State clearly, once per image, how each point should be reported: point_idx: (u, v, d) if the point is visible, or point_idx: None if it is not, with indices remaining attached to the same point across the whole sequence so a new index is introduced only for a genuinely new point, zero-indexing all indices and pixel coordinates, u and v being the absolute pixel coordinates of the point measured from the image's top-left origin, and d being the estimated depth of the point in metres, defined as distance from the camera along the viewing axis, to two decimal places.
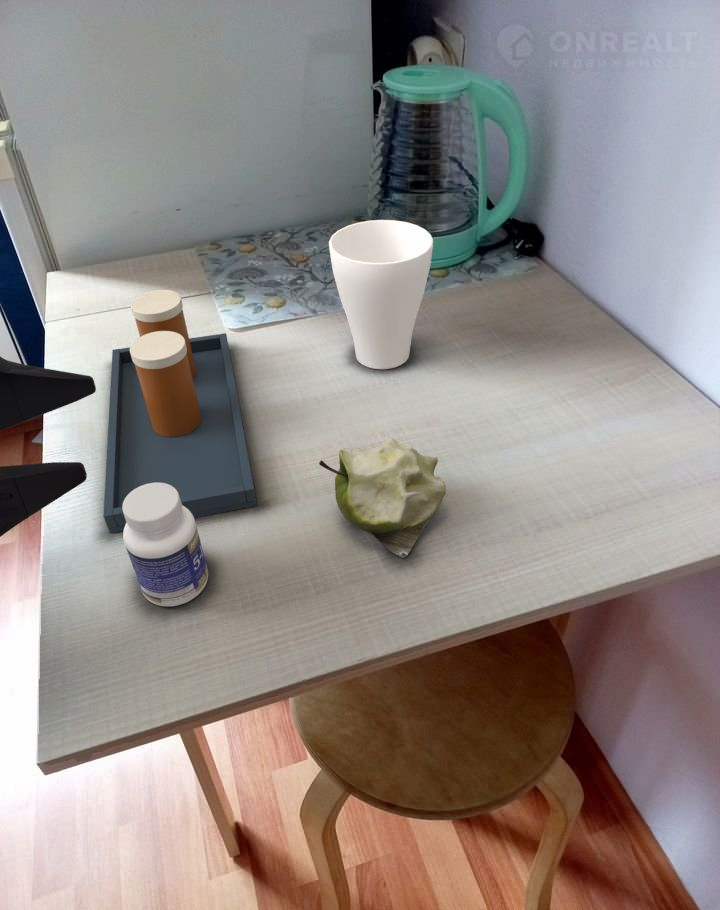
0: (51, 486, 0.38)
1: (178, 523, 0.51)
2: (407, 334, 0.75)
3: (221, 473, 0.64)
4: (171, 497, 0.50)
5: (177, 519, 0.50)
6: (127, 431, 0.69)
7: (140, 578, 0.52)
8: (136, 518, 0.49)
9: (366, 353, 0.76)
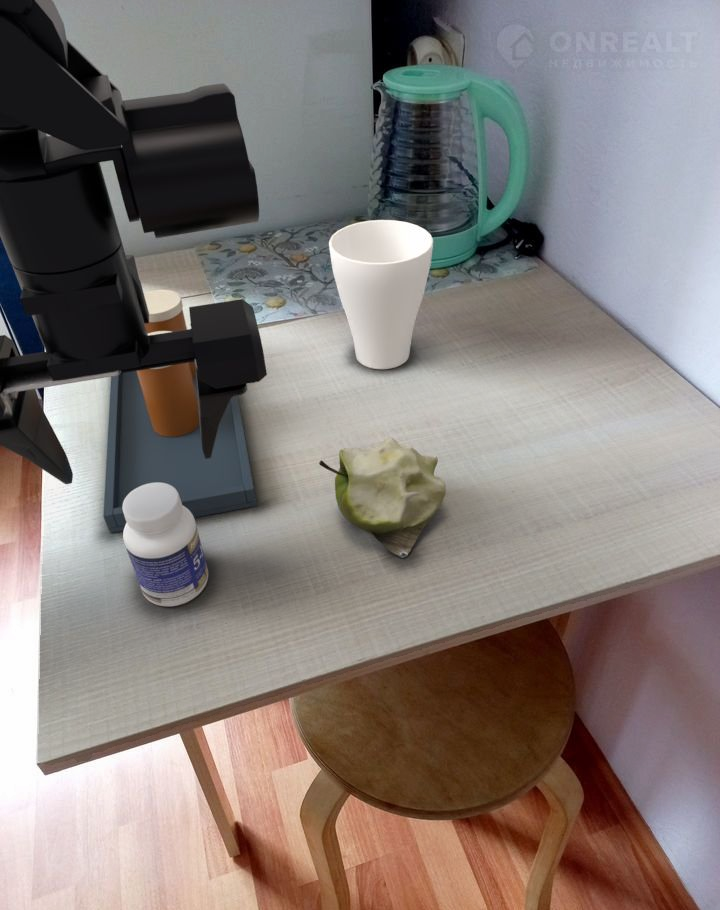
0: None
1: (178, 523, 0.51)
2: (407, 334, 0.75)
3: (221, 473, 0.64)
4: (171, 497, 0.50)
5: (177, 519, 0.50)
6: (127, 431, 0.69)
7: (140, 578, 0.52)
8: (136, 518, 0.49)
9: (366, 353, 0.76)
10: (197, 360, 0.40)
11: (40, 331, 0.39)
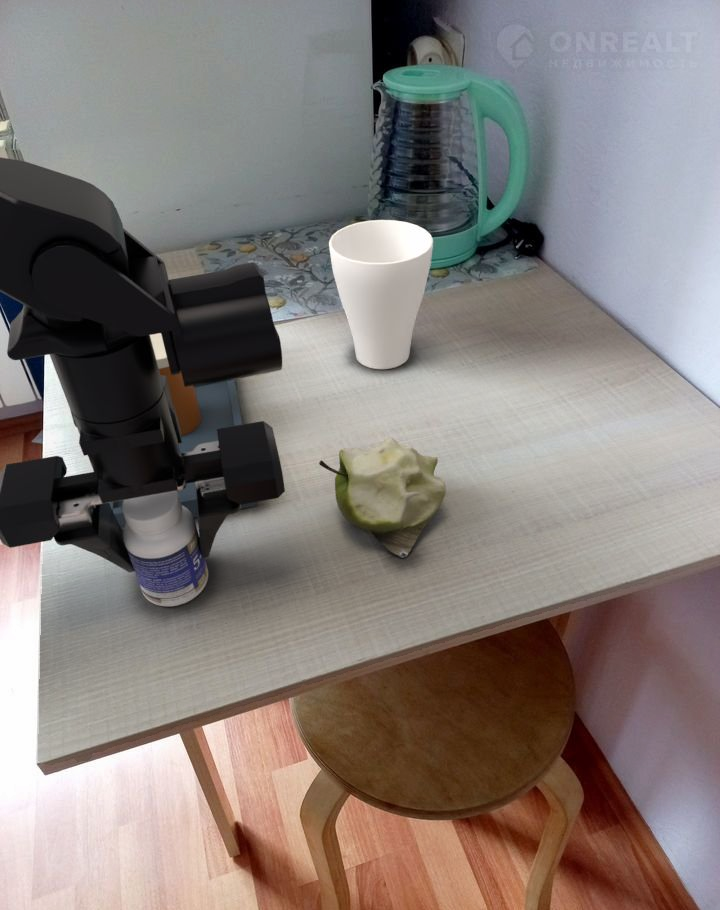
0: None
1: (178, 523, 0.51)
2: (407, 334, 0.75)
3: None
4: (171, 497, 0.50)
5: (177, 519, 0.50)
6: None
7: (140, 578, 0.52)
8: (135, 518, 0.49)
9: (366, 353, 0.76)
10: (226, 483, 0.47)
11: (92, 462, 0.45)
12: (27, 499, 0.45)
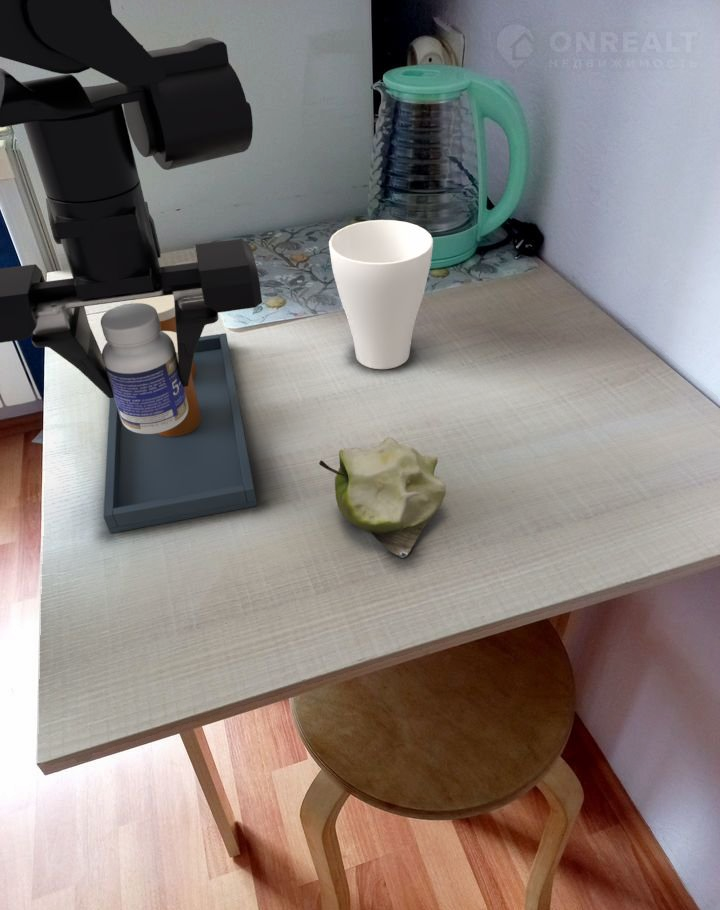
0: None
1: (156, 341, 0.51)
2: (407, 334, 0.75)
3: (221, 473, 0.64)
4: (149, 313, 0.50)
5: (156, 335, 0.51)
6: (127, 431, 0.69)
7: (119, 400, 0.53)
8: (113, 328, 0.49)
9: (366, 353, 0.76)
10: (202, 285, 0.47)
11: (69, 256, 0.45)
12: (4, 294, 0.45)
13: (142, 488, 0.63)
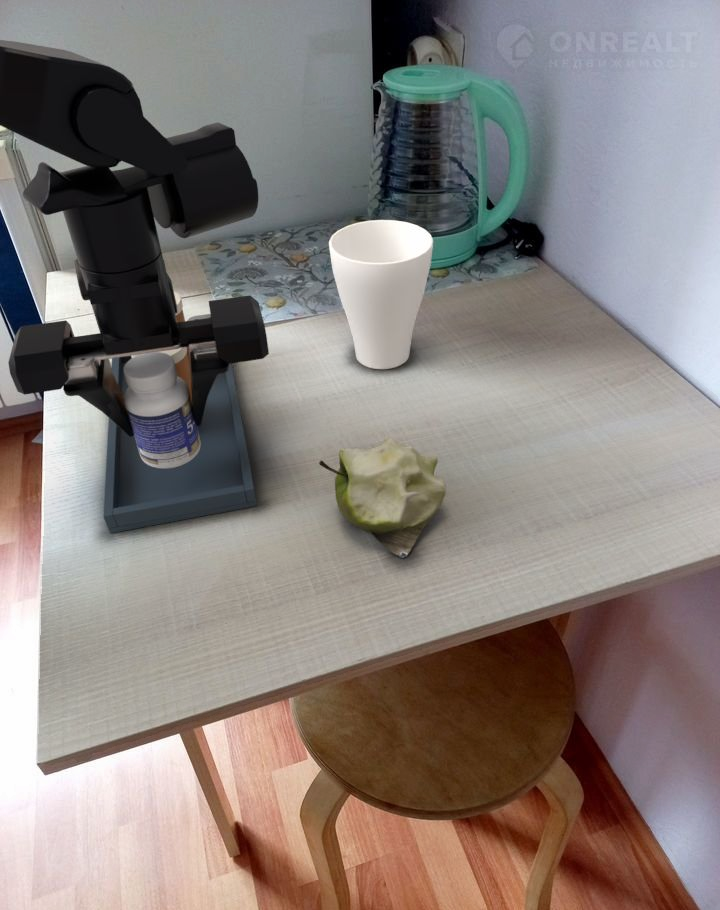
0: None
1: (173, 387, 0.57)
2: (407, 334, 0.75)
3: (221, 473, 0.64)
4: (167, 362, 0.56)
5: (173, 381, 0.56)
6: None
7: (139, 439, 0.58)
8: (135, 377, 0.55)
9: (366, 353, 0.76)
10: (216, 341, 0.53)
11: (98, 317, 0.51)
12: (40, 350, 0.51)
13: (142, 488, 0.63)
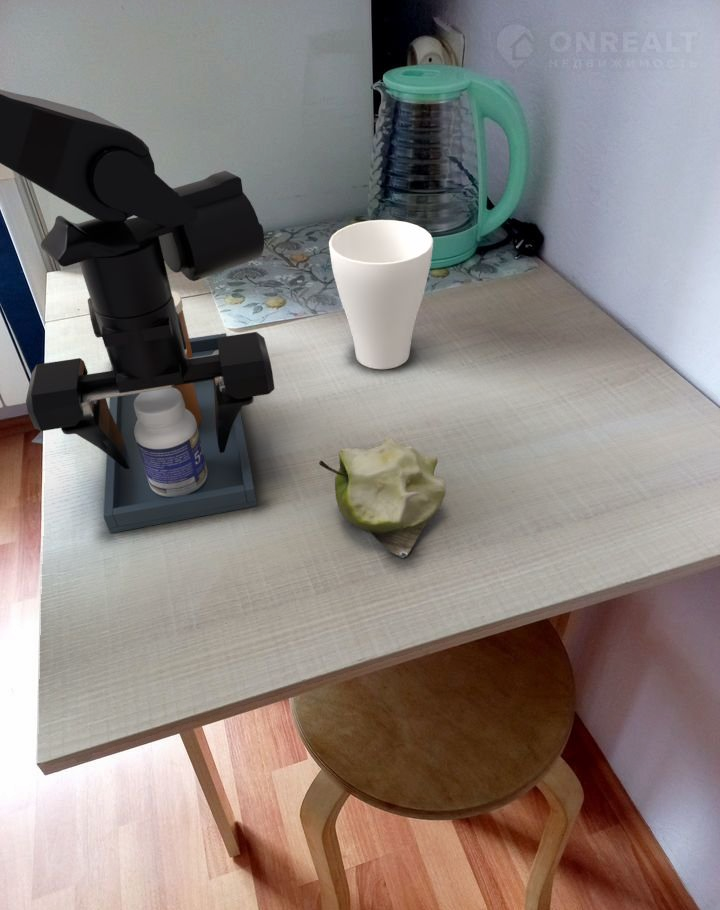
0: None
1: (181, 420, 0.59)
2: (407, 334, 0.75)
3: (221, 473, 0.64)
4: (175, 396, 0.58)
5: (181, 415, 0.59)
6: (127, 431, 0.69)
7: (149, 470, 0.60)
8: (145, 412, 0.57)
9: (366, 353, 0.76)
10: (224, 378, 0.55)
11: (111, 357, 0.53)
12: (56, 389, 0.53)
13: (142, 488, 0.63)
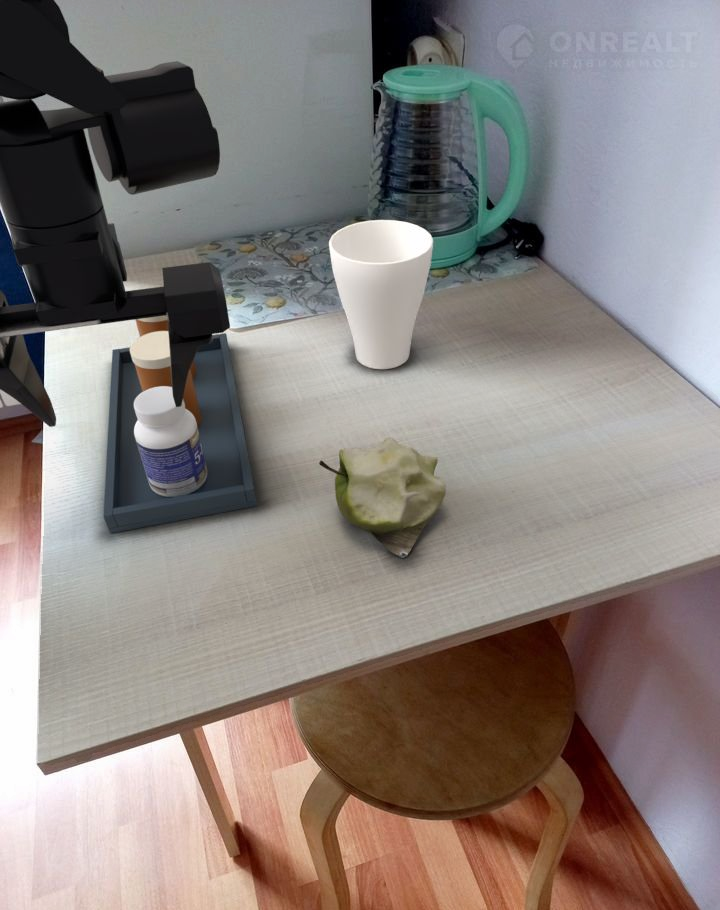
0: None
1: (181, 420, 0.59)
2: (407, 334, 0.75)
3: (221, 473, 0.64)
4: None
5: (181, 415, 0.59)
6: (127, 431, 0.69)
7: (149, 470, 0.60)
8: (145, 412, 0.57)
9: (366, 353, 0.76)
10: (168, 311, 0.46)
11: (30, 281, 0.44)
12: None
13: (142, 488, 0.63)
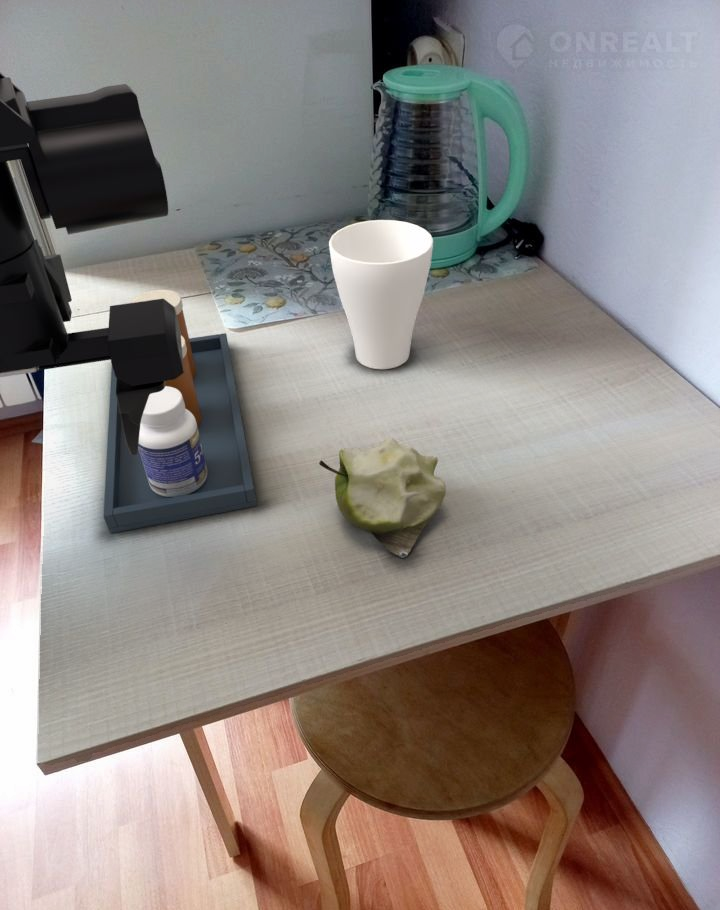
0: None
1: (181, 420, 0.59)
2: (407, 334, 0.75)
3: (221, 473, 0.64)
4: (175, 396, 0.58)
5: (181, 415, 0.59)
6: None
7: (149, 470, 0.60)
8: (145, 412, 0.57)
9: (366, 353, 0.76)
10: (112, 357, 0.41)
11: None
12: None
13: (142, 488, 0.63)
